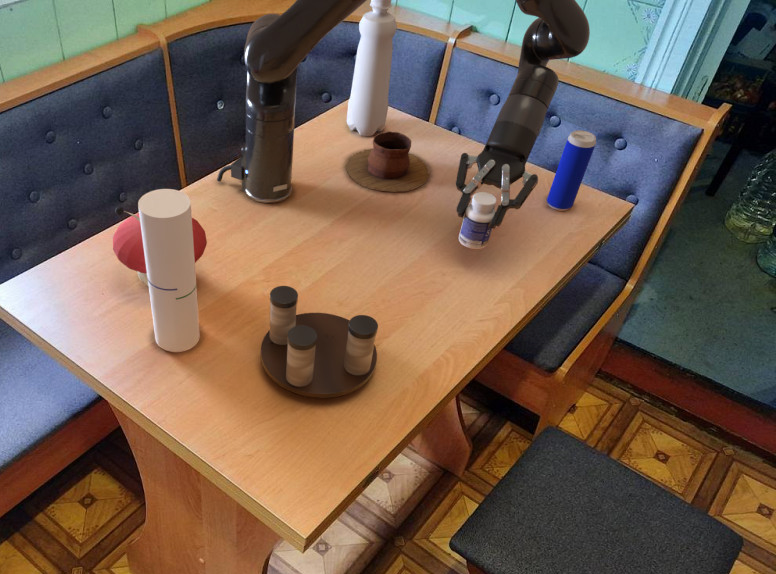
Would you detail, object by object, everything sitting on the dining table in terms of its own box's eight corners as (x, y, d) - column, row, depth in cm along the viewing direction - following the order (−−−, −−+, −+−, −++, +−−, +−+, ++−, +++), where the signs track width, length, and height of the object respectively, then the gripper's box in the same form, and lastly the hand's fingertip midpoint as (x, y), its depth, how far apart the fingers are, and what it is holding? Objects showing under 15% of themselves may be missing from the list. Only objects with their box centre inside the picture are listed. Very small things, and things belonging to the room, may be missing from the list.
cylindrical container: (155, 322, 119) (139, 189, 101) (199, 321, 120) (190, 188, 102) (154, 353, 114) (136, 218, 96) (200, 351, 115) (190, 217, 97)
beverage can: (572, 200, 149) (598, 132, 138) (571, 214, 145) (597, 145, 134) (546, 195, 150) (570, 127, 139) (544, 208, 146) (568, 139, 135)
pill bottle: (487, 251, 128) (500, 209, 122) (457, 247, 129) (468, 204, 123) (487, 234, 132) (500, 192, 126) (458, 230, 133) (469, 188, 126)
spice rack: (284, 410, 105) (286, 364, 98) (245, 330, 116) (245, 284, 110) (396, 381, 109) (406, 335, 103) (347, 307, 121) (353, 261, 114)
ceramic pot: (434, 194, 149) (441, 163, 144) (348, 191, 149) (351, 160, 144) (423, 150, 161) (429, 120, 156) (343, 147, 161) (346, 117, 156)
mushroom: (196, 244, 135) (192, 172, 124) (218, 297, 124) (216, 223, 114) (111, 259, 131) (99, 185, 120) (127, 314, 121) (115, 239, 110)
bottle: (363, 115, 172) (379, -23, 150) (393, 129, 168) (414, -11, 146) (337, 127, 167) (350, -13, 146) (367, 142, 163) (385, 0, 141)
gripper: (474, 109, 123) (434, 203, 124) (558, 132, 118) (515, 230, 120) (478, 125, 130) (440, 214, 131) (557, 148, 125) (516, 240, 127)
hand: (476, 221), depth 126 cm, fingers closed on pill bottle, 5 cm apart
